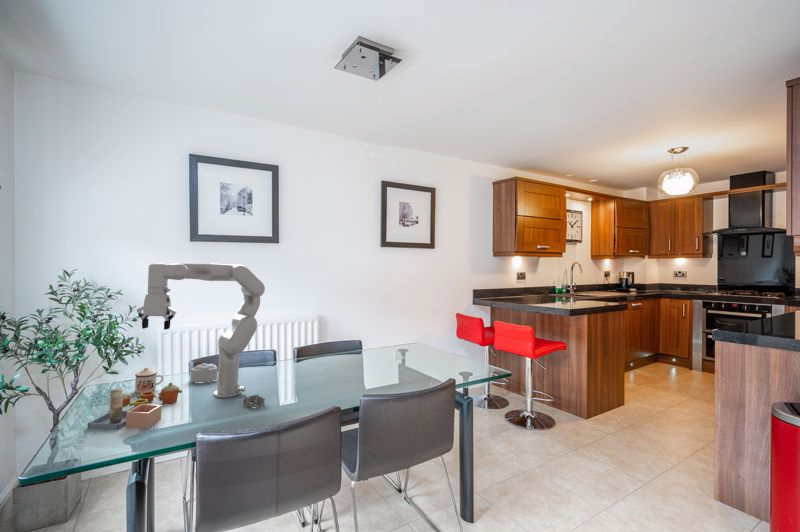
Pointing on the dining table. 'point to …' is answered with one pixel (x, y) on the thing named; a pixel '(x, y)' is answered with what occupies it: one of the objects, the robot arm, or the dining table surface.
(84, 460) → the dining table surface
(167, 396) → the toy tea set
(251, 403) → the dark mottled rough lump
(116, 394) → the dowel
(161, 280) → the robot arm
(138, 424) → the salmon pink open bin
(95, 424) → the tray
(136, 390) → the teacup with lid
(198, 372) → the lumpy-topped squat cylinder
